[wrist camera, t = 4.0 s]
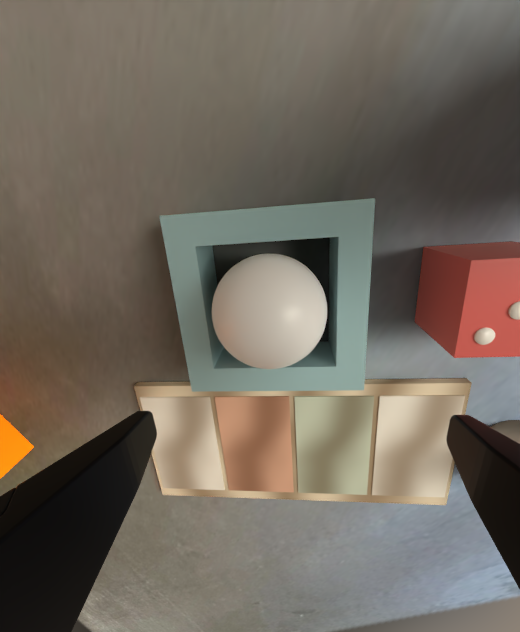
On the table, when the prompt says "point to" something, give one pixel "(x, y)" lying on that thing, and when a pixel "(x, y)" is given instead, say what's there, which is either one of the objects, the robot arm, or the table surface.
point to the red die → (471, 298)
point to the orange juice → (11, 446)
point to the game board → (307, 441)
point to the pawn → (509, 429)
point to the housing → (263, 226)
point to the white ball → (269, 311)
